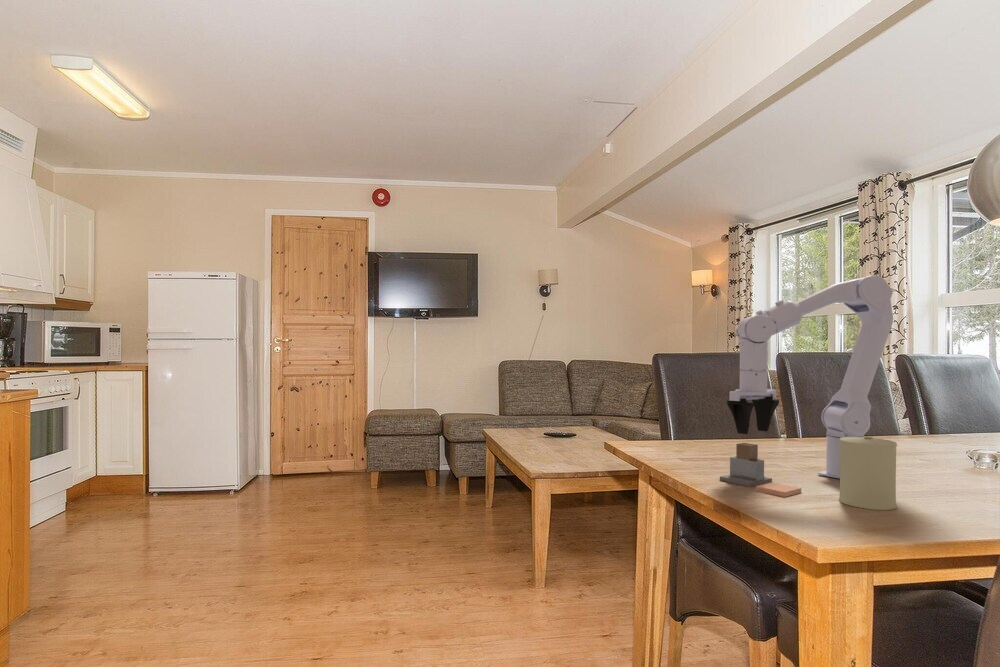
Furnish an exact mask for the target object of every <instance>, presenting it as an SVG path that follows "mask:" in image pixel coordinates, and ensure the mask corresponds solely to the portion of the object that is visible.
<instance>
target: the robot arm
mask: <svg viewBox="0 0 1000 667" xmlns="http://www.w3.org/2000/svg"><path fill="white" fill-rule="evenodd" d="M893 293H894V292H893V289H892V288H891V285H889V283H888V282H887V280H885V279H884V278H883V277H881V276H879V275H874V274H873V275H868V276H864V277H859V278H849V279H847V280H845V281H842V282H837V283H834V284H832V285H828V286H827V287H825V288H823V289H821V290H819V291H817V292H815V293H812V294H811V295H809V296H806V297H804V298H803V299H800V300H798V301H797V302H794V301H790V300H785V301H784V300H783V299H782V300H777V301H776V302H775V305H773V306H771V307H769V308H768V309H765V310H763V311H762V310H761V309H760V310H757V311H755V314H756V315H754V316H748V317H745V318H743V319H741V320H740V321H739V323H738V324H737V328H735V334H736V336H737V338H738V339H739V342H740V344H739V389H735V390H731V391H729V399H727V400H726V405H727V407H728V408H729V410H730V412H731V414H732V417H733V419H734V420H733V421H734V424H735V427H736V428H735V429H736V431H737V434H742V435H748V434H749V430H750V420H751V415H752V411H753V409H754V411H755V414H756V415H755V417H756V426H757V430H758V431H759V432H760V431H761V432H769V428H770V425H771V421H772V418H773V416H774V413H775V410H776V409H777V407H778V406H779V404H780V399H776V398H777V390H776V389H770V388H768V364H769V363H768V354H769V353H768V352H769V351H768V350H769V349H768V344H769V343H768V341H769V340H770V338H771V337H772V336H774V335H777V334H779V333H781V332H783V331H786V330H788V329H790V328H792V327H794V326H797V325H799V324H800V323H801V321H802V318H803V316H805V315H807V314H810V313H812V312H815V311H818V310H819V309H823V308H824V307H827V306H830V305H832V304H834V303H835V304H843V305H845V306H846V307H847V308H848V309H850V310H851V311H852V312H853V313H855V314H856V316H857V317H858V318H859V320H860V322H862V325H861V328H860V331H859V333H858V336H857V339H856V342H855V345H854V348H853V351H852V354H851V357H850V360H849V362H848V365H847V368H846V371H845V374H844V378H843V380H842V383H841V386H840V389H839V390H838V391H837V392H835V394H833V395H832V397H831V399H830V402H828V405H826V406H825V407H824V408H823V410H822V412H821V414H820V415H821V417H820V418H821V422H822V424H823V426H824V427H825V428H826V450H825V451H826V458H825V459H826V460H825V464H826V470H823V471H819V472H817V475H819V476H824V477H828V478H835V479H839V480H840V438H843V437H865V435H866V433H867V432H868V431H869V430H870V428H871V427H870V426H871V416H870V415H871V411H872V405H871V403H870V400H869V398H868V396H869V393H870V390H871V387H872V384H873V381H874V378H875V376H876V372H877V370H878V366H879V363H880V361H881V358H882V355H883V352H884V349H885V346H886V343H887V340H888V337H889V334H890V332H891V328H892V326H893V323H894V314H893V309H892V299H891V298H892V295H893ZM748 400H749V401H750V400H751V401H752V402H749V401H748Z"/></svg>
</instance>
